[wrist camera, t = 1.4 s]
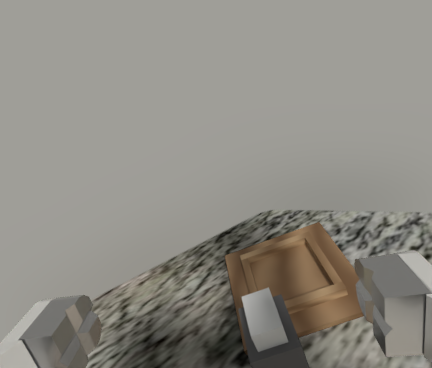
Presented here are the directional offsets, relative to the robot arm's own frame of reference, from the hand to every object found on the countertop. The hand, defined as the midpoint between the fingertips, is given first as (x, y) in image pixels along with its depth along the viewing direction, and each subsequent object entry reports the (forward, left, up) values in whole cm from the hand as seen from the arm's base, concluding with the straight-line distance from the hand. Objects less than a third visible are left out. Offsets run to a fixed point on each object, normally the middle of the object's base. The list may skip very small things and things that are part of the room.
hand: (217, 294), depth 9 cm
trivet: (-4, -22, -26) cm, 34 cm away
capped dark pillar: (0, -9, -26) cm, 27 cm away
